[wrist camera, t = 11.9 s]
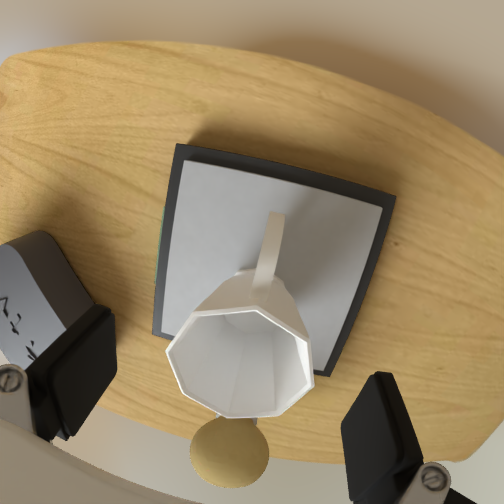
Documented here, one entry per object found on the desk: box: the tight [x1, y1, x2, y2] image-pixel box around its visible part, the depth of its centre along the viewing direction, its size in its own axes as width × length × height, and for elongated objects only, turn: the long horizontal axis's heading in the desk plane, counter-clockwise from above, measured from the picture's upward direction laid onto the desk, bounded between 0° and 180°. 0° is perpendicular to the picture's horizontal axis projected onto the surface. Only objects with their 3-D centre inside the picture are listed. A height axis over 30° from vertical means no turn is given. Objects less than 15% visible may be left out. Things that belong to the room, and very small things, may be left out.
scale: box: [152, 143, 396, 377], centre depth 21 cm, size 15×15×3 cm
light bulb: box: [190, 413, 269, 488], centre depth 22 cm, size 6×6×10 cm
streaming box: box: [0, 231, 94, 370], centre depth 24 cm, size 14×14×5 cm
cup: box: [165, 211, 314, 418], centre depth 16 cm, size 7×10×8 cm
